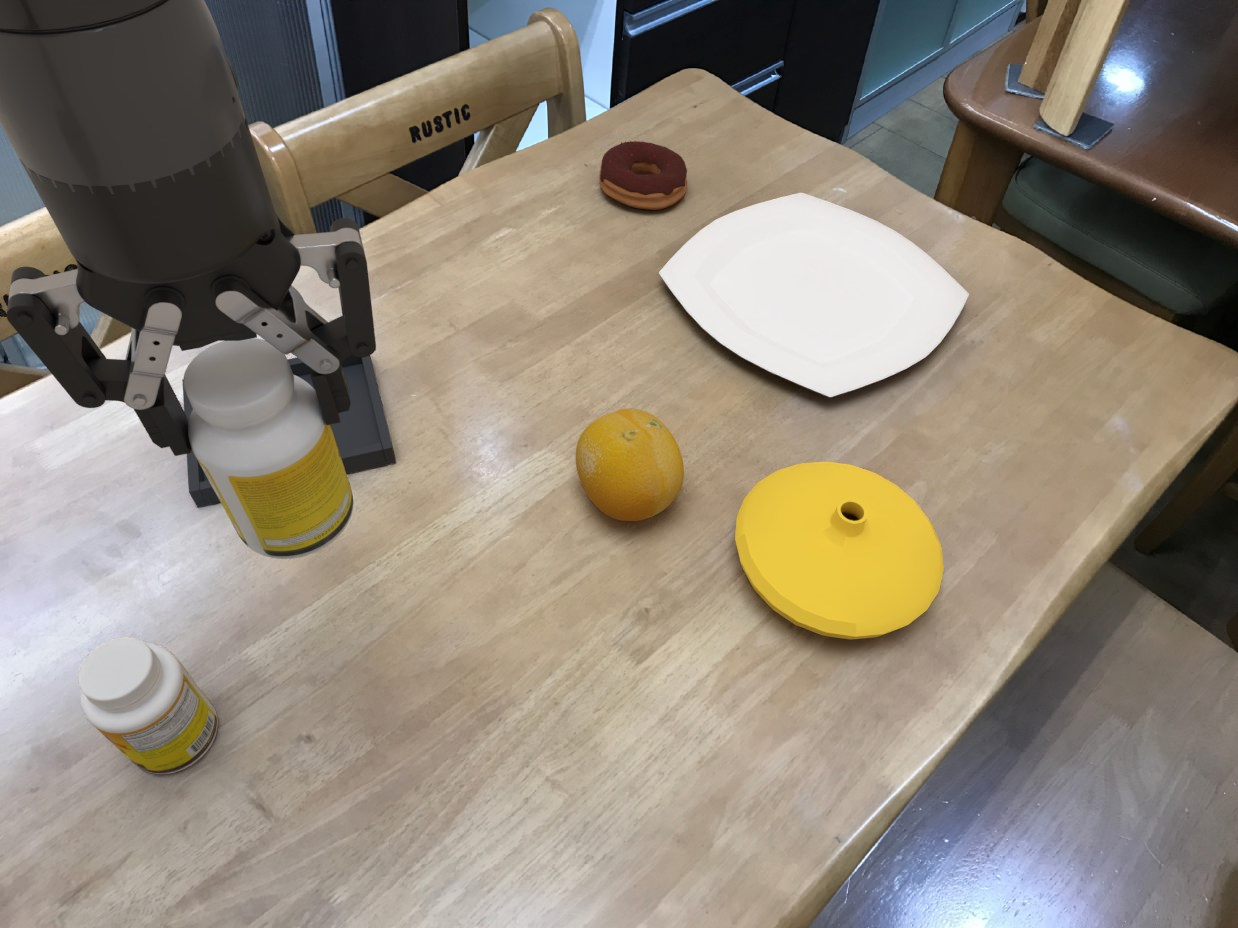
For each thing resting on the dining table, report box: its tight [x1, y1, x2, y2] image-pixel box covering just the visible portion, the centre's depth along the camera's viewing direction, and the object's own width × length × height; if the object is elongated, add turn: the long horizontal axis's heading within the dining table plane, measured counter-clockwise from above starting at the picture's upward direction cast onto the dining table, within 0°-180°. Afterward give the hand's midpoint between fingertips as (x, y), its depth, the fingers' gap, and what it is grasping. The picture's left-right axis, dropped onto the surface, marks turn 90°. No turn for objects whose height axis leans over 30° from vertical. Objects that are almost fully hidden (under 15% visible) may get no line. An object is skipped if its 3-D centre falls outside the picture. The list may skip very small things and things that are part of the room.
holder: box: [181, 355, 397, 508], centre depth 74 cm, size 16×13×2 cm
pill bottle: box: [182, 337, 354, 560], centre depth 45 cm, size 6×6×12 cm
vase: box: [734, 461, 945, 640], centre depth 66 cm, size 16×16×7 cm
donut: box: [598, 140, 688, 211], centre depth 98 cm, size 10×10×4 cm
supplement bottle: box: [77, 636, 219, 775], centre depth 54 cm, size 6×6×10 cm
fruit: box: [575, 408, 685, 522], centre depth 69 cm, size 9×8×8 cm
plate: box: [658, 192, 970, 399], centre depth 88 cm, size 27×27×2 cm
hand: (259, 425), depth 44 cm, fingers closed on pill bottle, 6 cm apart
